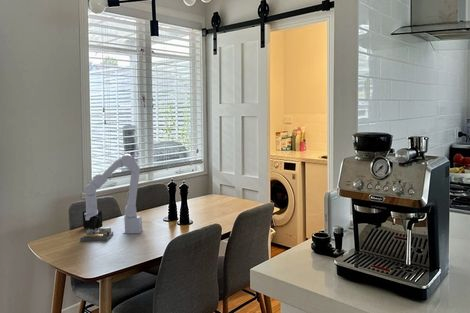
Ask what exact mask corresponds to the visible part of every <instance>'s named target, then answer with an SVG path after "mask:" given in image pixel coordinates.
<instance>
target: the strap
mask: <svg viewBox="0 0 470 313" xmlns="http://www.w3.org/2000/svg"><path fill="white" fill-rule="evenodd" d="M107 235H108V234H107ZM82 236H91V237H103V234H86V233H83V234H82Z"/></svg>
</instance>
